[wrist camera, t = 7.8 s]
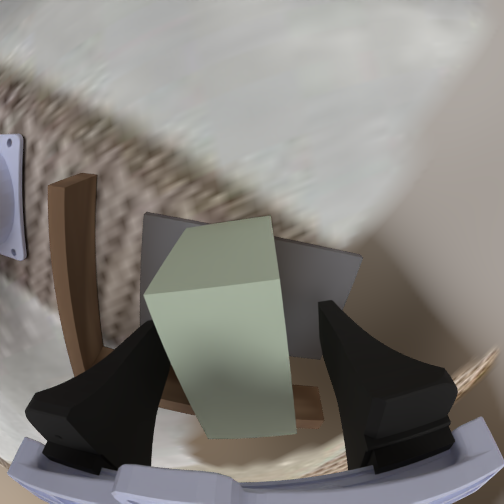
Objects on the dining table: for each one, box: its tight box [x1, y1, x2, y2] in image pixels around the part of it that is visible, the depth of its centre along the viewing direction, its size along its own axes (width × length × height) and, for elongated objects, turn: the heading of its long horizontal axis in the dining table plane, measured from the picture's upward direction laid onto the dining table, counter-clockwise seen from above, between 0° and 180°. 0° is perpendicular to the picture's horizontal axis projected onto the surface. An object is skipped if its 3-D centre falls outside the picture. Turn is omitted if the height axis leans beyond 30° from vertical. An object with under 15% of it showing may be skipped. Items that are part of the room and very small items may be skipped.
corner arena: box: [48, 173, 363, 429], centre depth 15 cm, size 16×12×3 cm
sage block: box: [144, 216, 297, 439], centre depth 12 cm, size 4×8×6 cm, turn 9°
